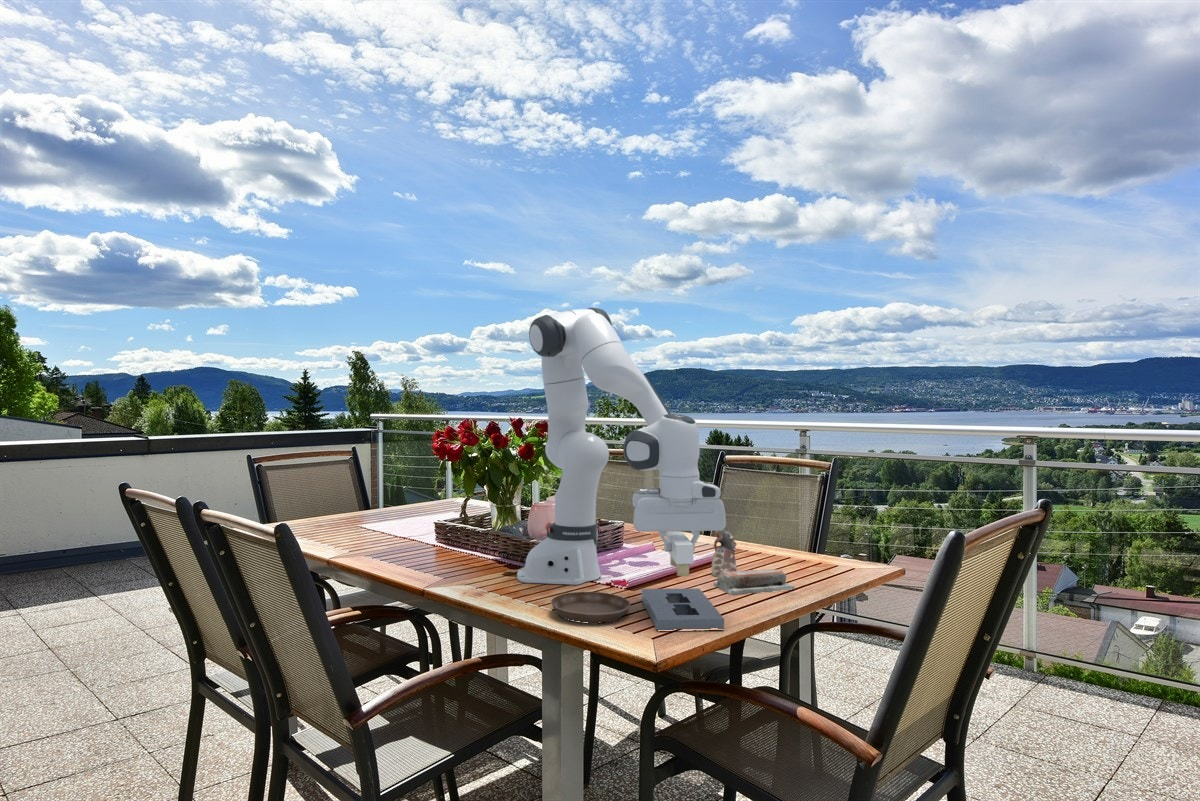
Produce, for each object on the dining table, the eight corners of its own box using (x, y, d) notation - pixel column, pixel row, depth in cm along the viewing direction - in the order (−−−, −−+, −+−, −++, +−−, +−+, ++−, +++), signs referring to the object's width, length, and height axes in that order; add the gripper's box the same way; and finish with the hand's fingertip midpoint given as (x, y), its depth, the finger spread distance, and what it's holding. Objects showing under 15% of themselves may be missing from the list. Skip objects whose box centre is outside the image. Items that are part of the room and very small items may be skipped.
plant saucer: (629, 605, 172) (630, 592, 172) (630, 628, 154) (630, 614, 154) (554, 603, 173) (554, 590, 173) (546, 626, 155) (546, 612, 155)
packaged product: (730, 577, 180) (713, 568, 190) (730, 597, 180) (713, 587, 190) (795, 573, 185) (775, 564, 195) (795, 592, 185) (775, 582, 195)
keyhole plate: (723, 630, 153) (724, 618, 153) (657, 631, 152) (657, 619, 152) (699, 598, 177) (699, 588, 177) (641, 599, 176) (641, 589, 176)
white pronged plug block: (693, 577, 155) (693, 544, 155) (676, 578, 155) (676, 545, 154) (682, 561, 169) (682, 531, 169) (666, 562, 168) (666, 531, 168)
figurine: (737, 579, 196) (738, 534, 196) (710, 577, 198) (711, 533, 198) (737, 572, 203) (738, 529, 203) (711, 571, 205) (712, 528, 205)
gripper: (633, 490, 158) (633, 554, 158) (727, 489, 159) (727, 553, 159) (630, 486, 164) (630, 548, 164) (721, 485, 165) (721, 547, 165)
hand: (679, 550), depth 162 cm, fingers closed on white pronged plug block, 4 cm apart
